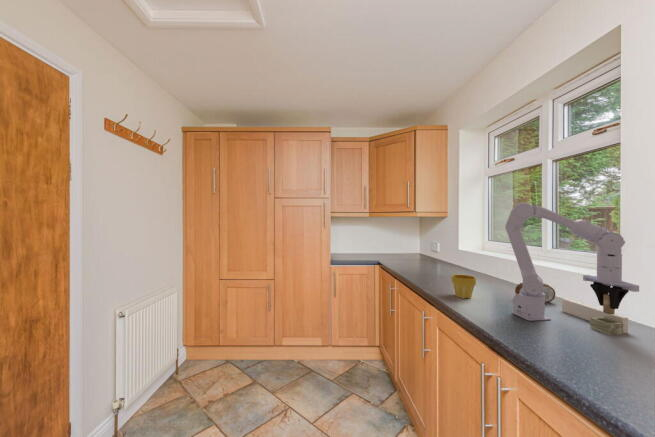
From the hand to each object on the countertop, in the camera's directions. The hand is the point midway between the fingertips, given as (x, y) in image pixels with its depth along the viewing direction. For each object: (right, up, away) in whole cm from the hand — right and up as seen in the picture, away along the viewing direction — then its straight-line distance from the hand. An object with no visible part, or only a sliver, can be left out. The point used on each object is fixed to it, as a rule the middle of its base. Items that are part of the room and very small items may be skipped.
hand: (608, 307), depth 87 cm
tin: (-1, -8, +30) cm, 31 cm away
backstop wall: (+3, -8, +8) cm, 12 cm away
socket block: (-1, -8, 0) cm, 8 cm away
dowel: (0, -2, 0) cm, 2 cm away
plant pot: (-30, -8, +37) cm, 48 cm away
